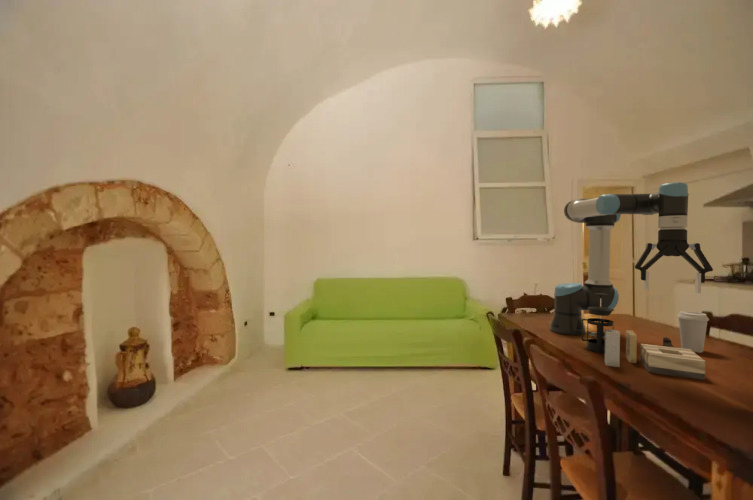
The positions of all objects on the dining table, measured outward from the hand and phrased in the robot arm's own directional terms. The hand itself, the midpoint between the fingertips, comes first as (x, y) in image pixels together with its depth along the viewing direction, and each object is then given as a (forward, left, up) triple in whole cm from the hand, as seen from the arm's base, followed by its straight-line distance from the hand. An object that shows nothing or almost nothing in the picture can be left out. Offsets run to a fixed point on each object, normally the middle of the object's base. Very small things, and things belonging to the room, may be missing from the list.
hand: (671, 291), depth 117 cm
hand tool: (-23, +4, -27) cm, 36 cm away
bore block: (0, 0, -27) cm, 27 cm away
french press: (-14, -20, -27) cm, 36 cm away
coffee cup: (-32, +14, -27) cm, 44 cm away
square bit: (+4, -17, -27) cm, 32 cm away
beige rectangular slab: (-6, -10, -27) cm, 29 cm away
